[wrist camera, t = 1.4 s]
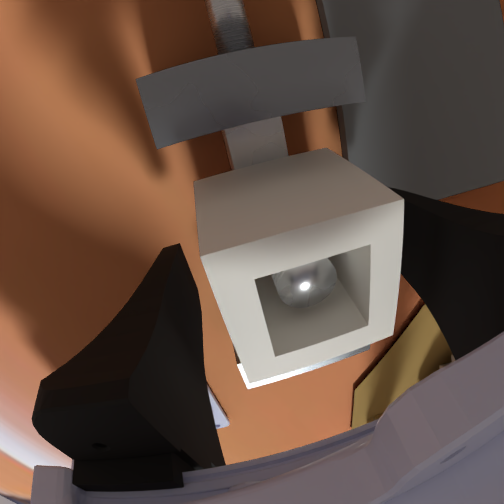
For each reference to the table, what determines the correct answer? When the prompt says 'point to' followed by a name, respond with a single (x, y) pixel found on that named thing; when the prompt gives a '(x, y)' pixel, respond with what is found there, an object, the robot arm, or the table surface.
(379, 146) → the mat
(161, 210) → the table surface
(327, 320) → the collar
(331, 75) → the vise
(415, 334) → the hourglass
